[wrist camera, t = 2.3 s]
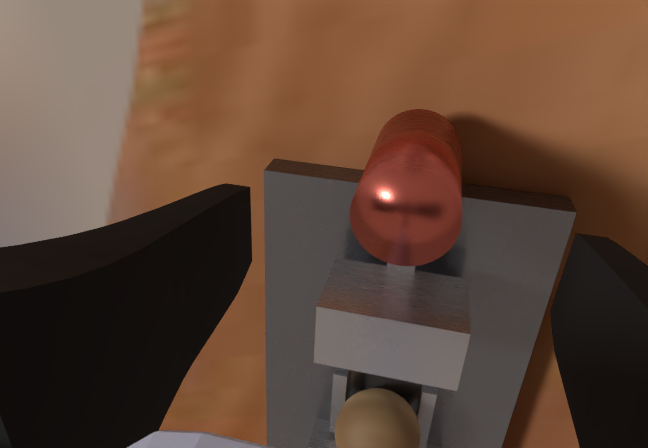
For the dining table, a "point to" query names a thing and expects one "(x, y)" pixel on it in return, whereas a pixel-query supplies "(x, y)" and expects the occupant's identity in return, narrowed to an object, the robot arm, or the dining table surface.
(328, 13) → the dining table surface
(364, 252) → the bench
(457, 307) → the ram handle
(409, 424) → the nut
